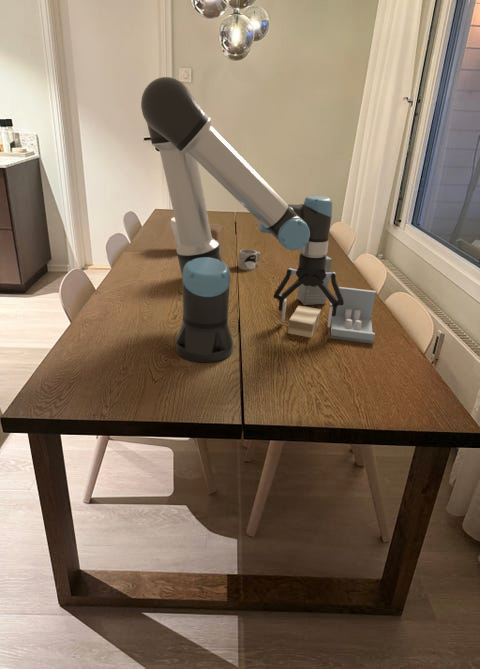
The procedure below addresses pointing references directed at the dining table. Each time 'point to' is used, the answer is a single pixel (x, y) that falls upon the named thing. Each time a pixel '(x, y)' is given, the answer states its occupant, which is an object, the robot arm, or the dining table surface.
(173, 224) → the cup
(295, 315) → the slab
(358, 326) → the cradle
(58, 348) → the dining table surface
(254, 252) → the mug
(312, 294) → the skincare box
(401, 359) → the dining table surface
